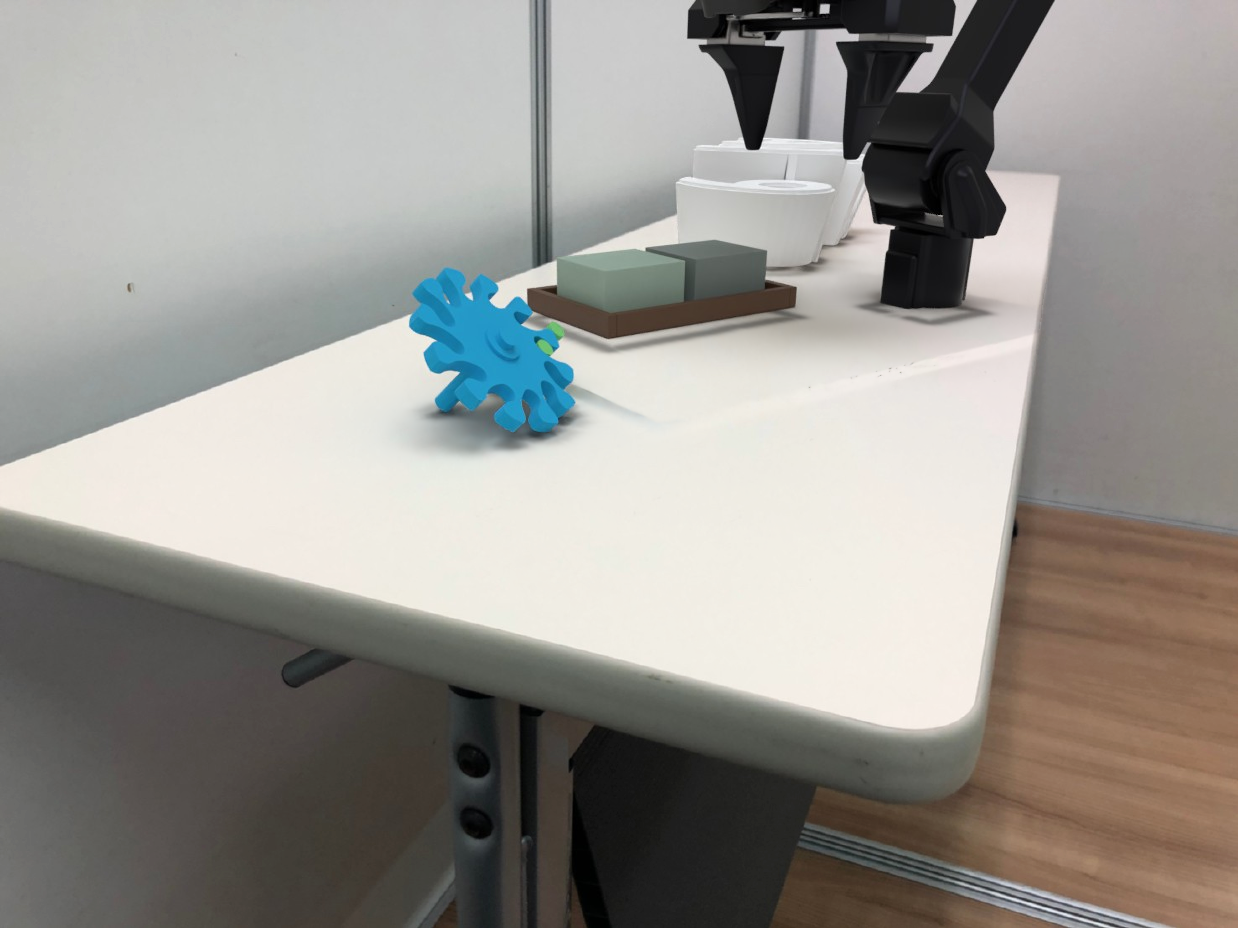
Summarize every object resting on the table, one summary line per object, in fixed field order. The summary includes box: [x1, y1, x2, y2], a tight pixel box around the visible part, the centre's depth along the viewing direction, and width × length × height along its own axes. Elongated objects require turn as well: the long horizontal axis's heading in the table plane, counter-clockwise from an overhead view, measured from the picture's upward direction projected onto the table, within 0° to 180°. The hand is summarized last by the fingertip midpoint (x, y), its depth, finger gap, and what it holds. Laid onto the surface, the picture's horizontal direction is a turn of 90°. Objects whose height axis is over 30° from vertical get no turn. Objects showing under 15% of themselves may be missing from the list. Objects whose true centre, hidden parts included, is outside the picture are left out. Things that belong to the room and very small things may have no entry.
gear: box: [408, 267, 577, 433], centre depth 51 cm, size 11×6×10 cm
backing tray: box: [526, 278, 798, 340], centre depth 72 cm, size 17×10×2 cm, turn 126°
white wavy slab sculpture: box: [675, 136, 867, 268], centre depth 100 cm, size 35×16×10 cm, turn 155°
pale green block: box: [556, 248, 685, 313], centre depth 69 cm, size 7×6×4 cm
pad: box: [644, 240, 767, 302], centre depth 74 cm, size 7×6×4 cm
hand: (799, 154), depth 66 cm, fingers open, 9 cm apart
